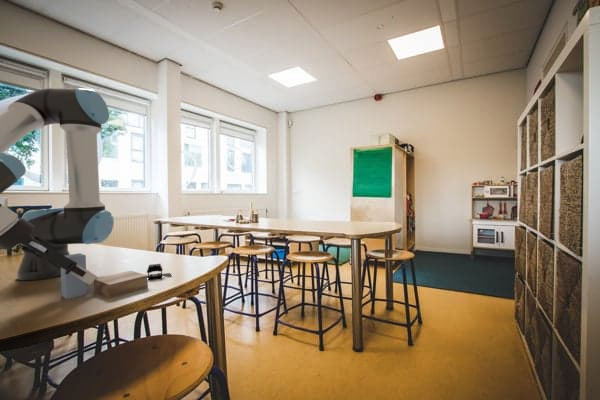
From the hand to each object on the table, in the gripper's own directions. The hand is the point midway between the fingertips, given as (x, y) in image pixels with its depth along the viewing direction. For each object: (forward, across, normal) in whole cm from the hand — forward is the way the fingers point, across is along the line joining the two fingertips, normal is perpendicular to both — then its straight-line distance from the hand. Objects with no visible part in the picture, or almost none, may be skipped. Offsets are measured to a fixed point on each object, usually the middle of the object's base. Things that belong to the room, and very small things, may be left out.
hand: (89, 278), depth 81 cm
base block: (+7, +6, +1) cm, 9 cm away
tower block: (0, 0, -5) cm, 5 cm away
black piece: (+15, +2, +9) cm, 18 cm away
